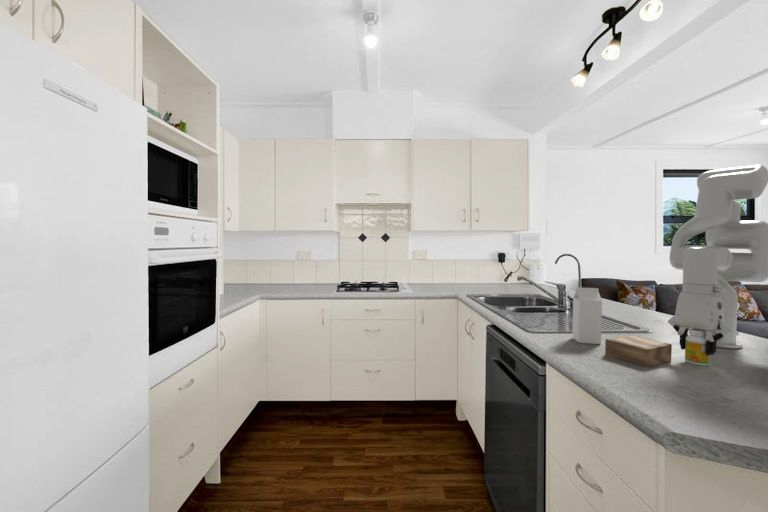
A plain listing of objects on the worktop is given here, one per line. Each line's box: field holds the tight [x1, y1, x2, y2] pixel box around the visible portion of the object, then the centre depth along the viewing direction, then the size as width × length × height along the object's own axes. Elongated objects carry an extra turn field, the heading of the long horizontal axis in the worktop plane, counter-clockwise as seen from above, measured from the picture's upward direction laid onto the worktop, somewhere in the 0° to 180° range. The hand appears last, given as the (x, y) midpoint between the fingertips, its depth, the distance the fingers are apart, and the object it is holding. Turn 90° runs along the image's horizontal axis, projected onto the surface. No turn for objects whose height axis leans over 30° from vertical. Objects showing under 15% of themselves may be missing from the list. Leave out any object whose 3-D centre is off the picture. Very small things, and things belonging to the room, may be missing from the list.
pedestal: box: [604, 334, 673, 368], centre depth 110 cm, size 12×12×5 cm
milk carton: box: [571, 287, 603, 345], centre depth 128 cm, size 7×7×19 cm
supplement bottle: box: [684, 328, 710, 367], centre depth 105 cm, size 5×5×10 cm
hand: (697, 351), depth 105 cm, fingers closed on supplement bottle, 5 cm apart
